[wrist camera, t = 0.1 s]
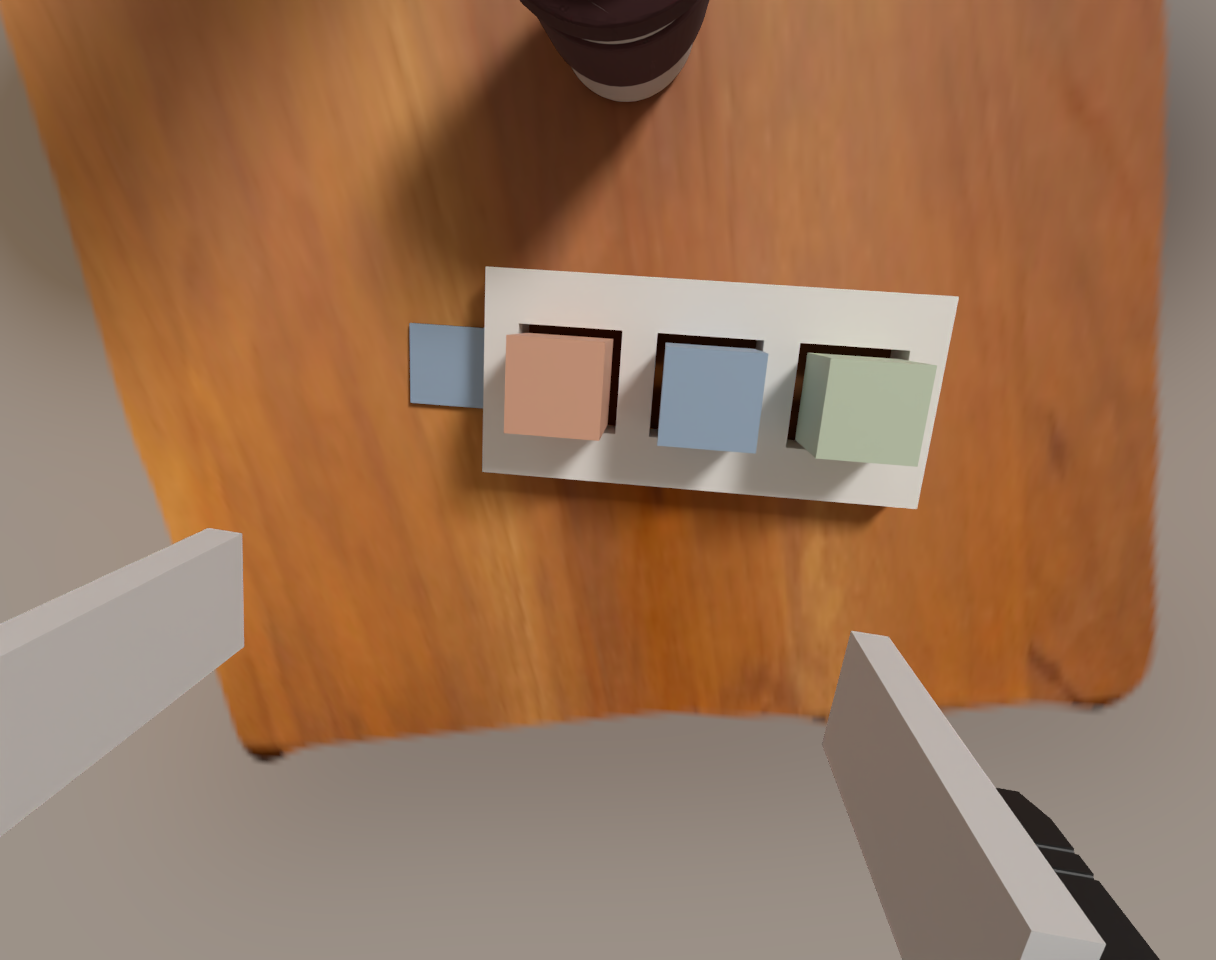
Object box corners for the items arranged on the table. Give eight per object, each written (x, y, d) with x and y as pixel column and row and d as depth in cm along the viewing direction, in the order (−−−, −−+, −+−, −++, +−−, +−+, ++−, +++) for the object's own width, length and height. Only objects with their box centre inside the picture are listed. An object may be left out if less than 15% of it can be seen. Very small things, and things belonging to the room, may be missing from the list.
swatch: (411, 322, 40) (409, 323, 40) (489, 328, 40) (488, 328, 39) (413, 402, 41) (410, 402, 41) (488, 407, 41) (486, 408, 40)
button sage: (807, 352, 36) (831, 357, 31) (898, 359, 35) (937, 365, 30) (795, 439, 37) (815, 458, 32) (882, 446, 37) (917, 466, 32)
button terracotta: (527, 332, 37) (506, 334, 32) (613, 338, 36) (605, 341, 31) (525, 418, 38) (503, 433, 33) (607, 424, 38) (599, 440, 33)
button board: (498, 270, 39) (485, 266, 36) (935, 298, 37) (958, 296, 34) (494, 461, 42) (482, 471, 39) (898, 495, 40) (916, 509, 37)
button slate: (665, 342, 36) (665, 346, 31) (753, 348, 36) (768, 353, 31) (657, 428, 37) (657, 445, 32) (743, 435, 37) (755, 453, 32)
